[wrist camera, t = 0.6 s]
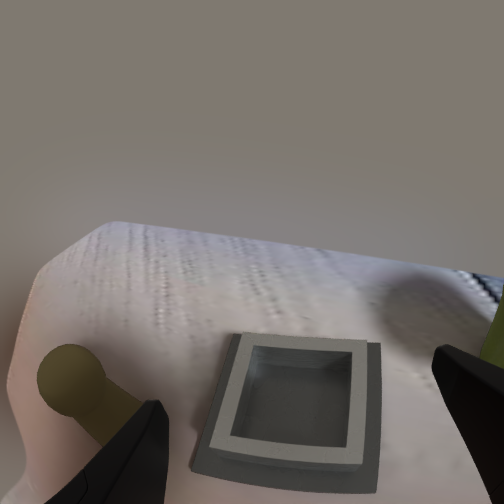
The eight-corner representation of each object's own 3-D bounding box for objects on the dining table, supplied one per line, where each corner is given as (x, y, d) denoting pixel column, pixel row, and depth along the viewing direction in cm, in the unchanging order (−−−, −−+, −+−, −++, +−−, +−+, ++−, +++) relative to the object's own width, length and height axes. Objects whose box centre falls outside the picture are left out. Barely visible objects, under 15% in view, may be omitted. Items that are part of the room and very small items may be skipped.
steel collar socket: (374, 493, 16) (386, 487, 14) (193, 472, 20) (178, 462, 17) (379, 346, 27) (386, 323, 24) (234, 337, 30) (227, 314, 28)
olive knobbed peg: (94, 414, 24) (23, 348, 17) (146, 391, 26) (87, 318, 19) (110, 468, 20) (26, 418, 13) (169, 445, 22) (102, 387, 15)
